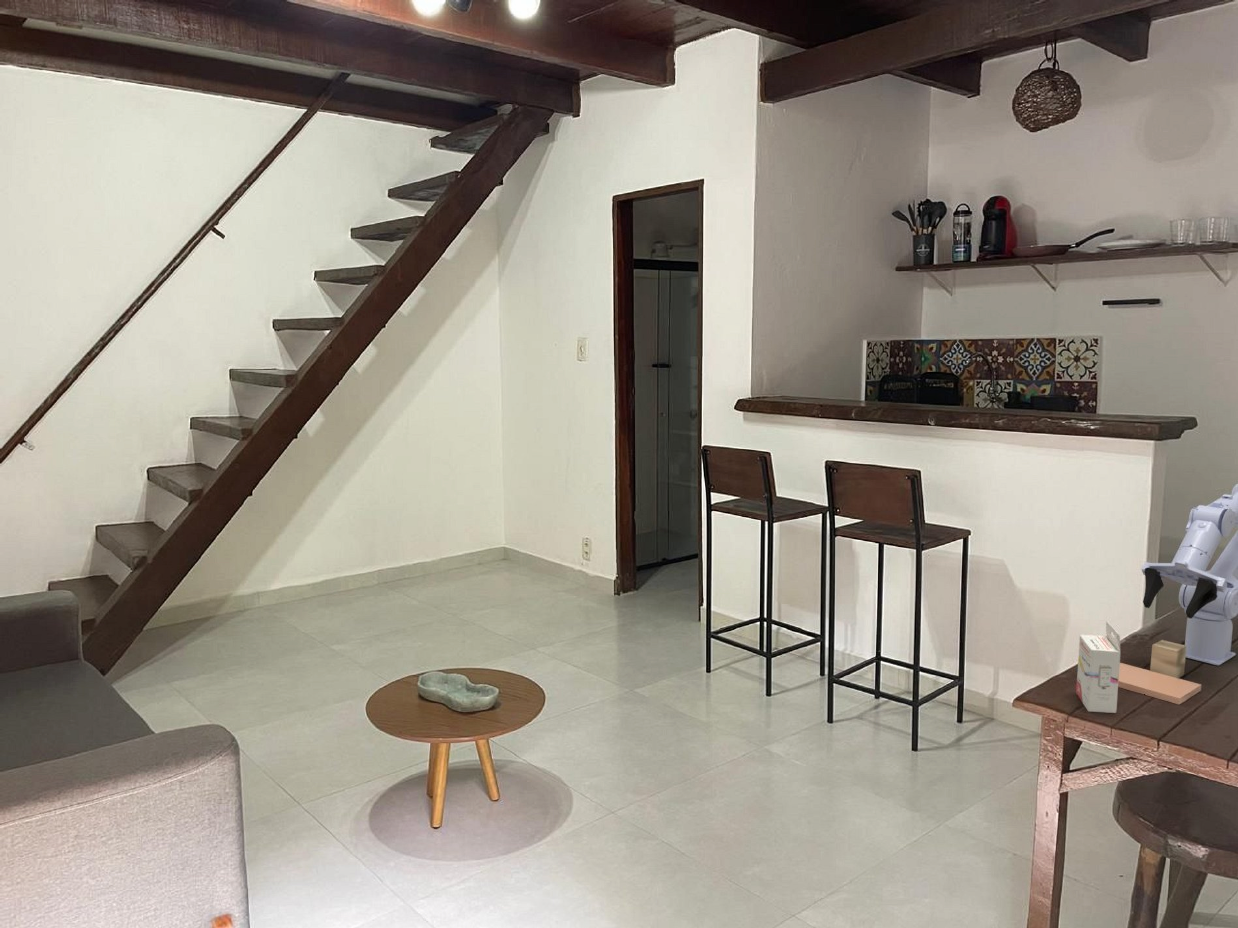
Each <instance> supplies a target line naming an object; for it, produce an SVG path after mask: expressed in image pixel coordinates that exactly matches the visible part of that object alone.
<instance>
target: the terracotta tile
mask: <svg viewBox="0 0 1238 928" xmlns="http://www.w3.org/2000/svg"><path fill="white" fill-rule="evenodd" d="M1118 688H1119V689H1124V690H1128V691H1131V692H1134V693H1138V694H1140V695H1144V694H1145V696H1147V697H1152V698H1155V699H1159V700H1162V701H1166V702H1168V703H1172V704H1175V705H1181V704H1183V703H1184V702H1186V701H1188V700H1189V699H1190V698H1192V697H1194V696H1195V695H1196V694H1198V693H1199V692H1202V684H1201V683H1197V682H1194V681H1190V680H1185V679H1182V678H1180V677H1179V678H1175V677H1171V676H1167V675H1164V674H1160V673H1156V672H1153V671H1150V670H1149V669H1145V668H1141V667H1137V666H1134V665H1130V664H1126V663H1123V662H1120V667H1119V680H1118Z"/></svg>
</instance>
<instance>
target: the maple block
mask: <svg viewBox="0 0 1238 928" xmlns="http://www.w3.org/2000/svg"><path fill="white" fill-rule="evenodd" d="M1150 657H1151V658H1150V668H1149V669H1150V670H1149V671H1153V672H1156V673H1160V674H1164V675H1167V676H1171V677H1175V678H1179V679H1180V678H1181V677H1183V676H1184V675H1185V667H1186V646H1185V644H1180V643H1176V642H1172V641H1168V640H1164V639H1161V640H1159V641H1158V642H1157V641H1156V642H1155V643H1153V644H1152V646H1151V656H1150Z"/></svg>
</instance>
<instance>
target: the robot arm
mask: <svg viewBox="0 0 1238 928" xmlns="http://www.w3.org/2000/svg"><path fill="white" fill-rule="evenodd" d="M1235 527H1237V528H1238V483H1236V484H1235V485H1234V486H1233V488H1232V490H1231V494H1223V495H1222V496H1220V497H1219V498H1217V499H1215V501H1212V502H1211V503H1209V504H1207V505H1202V504H1199V505H1198V506H1195V507H1193V508H1192V509H1191V510H1190V512H1189V517H1188V521H1187V523H1186V527H1185V529H1184V531H1185V536H1184V537H1183V540H1182V541H1181V543H1180V545H1179V547H1178V550H1177V551H1176V553H1175V555H1174V557H1173V559H1172V561H1171V562H1147V561H1146V562H1144V563H1143V565H1142V567H1141V571H1142V575H1143V576H1144V577H1145V578H1144V579H1145V589H1144V591H1145V592H1144V594H1143V595H1144V596H1143V600H1142V603H1143V605H1144V608H1146V609H1150V607H1151V606H1152V604H1153V602H1154V600H1155V597H1156V596H1157V594H1158V593H1159V591H1160V590H1162V588H1163V587H1164V582H1163V579H1162V578H1164V579H1169V580H1171V581H1174V582H1177V583H1179V584H1181V586H1180V588H1179V593H1178V602H1179V604H1180V606H1181V608H1182V609H1184V613H1185V614H1186V629H1185V637H1184V638H1185V640H1184V645H1185V646H1186V657H1185V659H1186V658H1187V659H1191V660H1195V661H1198V662H1202V663H1206V664H1211V665H1214V666H1221V665H1222V664H1223V663H1226V662H1227V661H1228V660H1230V659H1231V658H1233V657H1234V656H1236V652H1234V651H1231V649H1232V639H1233V631H1234V630H1233V628H1234V627H1233V626H1234V625H1233V621H1232V620H1231V619H1233V618H1235V617H1237V615H1238V530H1237V531H1236V532H1235V533H1234V535H1233V536H1232V538H1231V539H1230V541H1229V542H1228V544H1227V545H1226V547H1224V550H1223V551H1222V552H1221V554H1220V555H1219V557H1218V558H1217V560H1216V561H1215V563H1214V564H1213V566H1212V567H1210V570H1207V568H1208V566H1209V564H1210V562H1211V560H1212V557H1213V556H1214V554H1215V551H1216V550H1217V547H1218V545H1219V543H1220V541H1221V539H1222V537H1224V538H1229V536H1230V535H1231V533H1232V531H1233V529H1234V528H1235Z"/></svg>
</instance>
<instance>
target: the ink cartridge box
mask: <svg viewBox="0 0 1238 928" xmlns="http://www.w3.org/2000/svg"><path fill="white" fill-rule="evenodd" d="M1105 628H1106V629H1105V630H1106V631H1105V632H1106V635H1092V634H1079V643H1078V644H1079V645H1078V648H1079V649H1078V661H1077V662H1078V663H1077V675H1076V688H1075V690H1076V691H1075V694H1076V695H1077V696H1078V698H1079V700H1080V701H1081V702H1082V704H1083V706H1084V707H1085V708H1086V710H1087V712H1089V713H1090V712H1092V713H1093V712H1094V713H1108V714H1110V713H1111V714H1116V713H1117V709H1118V708H1117V707H1118V693H1119V692H1118V691H1119V687H1118V680H1119V667H1120V663H1121V635H1120V633H1119V632H1118V631H1117V630H1116V629H1115V628H1114V626H1113V625H1112V624H1111V623H1110V622H1109V620H1106V622H1105ZM1112 633H1113V634H1112Z"/></svg>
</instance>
